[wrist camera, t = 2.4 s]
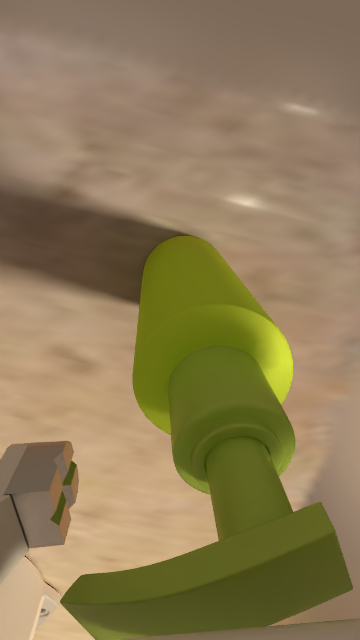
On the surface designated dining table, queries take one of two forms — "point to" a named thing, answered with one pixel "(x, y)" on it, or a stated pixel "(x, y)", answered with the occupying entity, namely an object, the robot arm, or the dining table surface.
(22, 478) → the robot arm
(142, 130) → the dining table surface
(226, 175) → the dining table surface
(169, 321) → the soap dispenser
